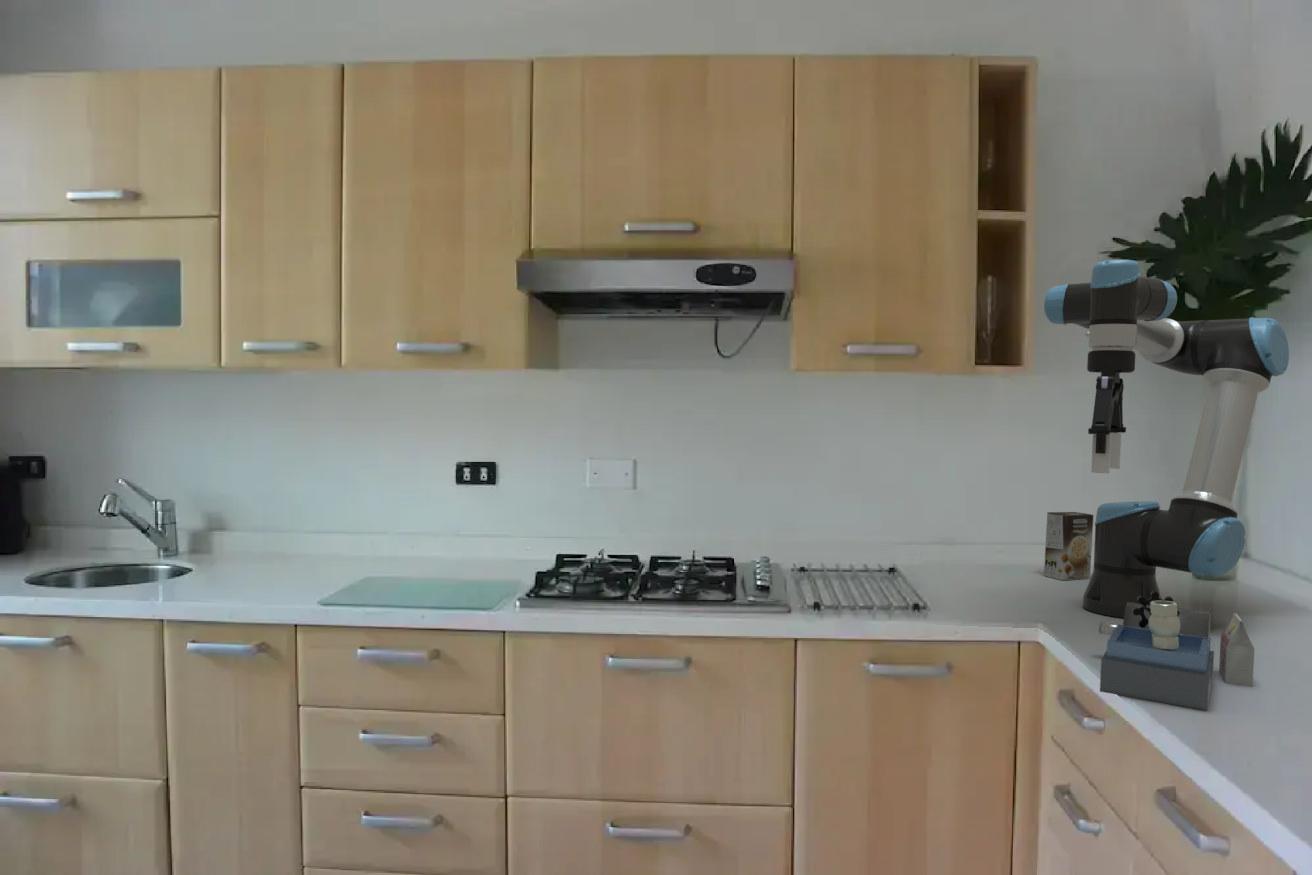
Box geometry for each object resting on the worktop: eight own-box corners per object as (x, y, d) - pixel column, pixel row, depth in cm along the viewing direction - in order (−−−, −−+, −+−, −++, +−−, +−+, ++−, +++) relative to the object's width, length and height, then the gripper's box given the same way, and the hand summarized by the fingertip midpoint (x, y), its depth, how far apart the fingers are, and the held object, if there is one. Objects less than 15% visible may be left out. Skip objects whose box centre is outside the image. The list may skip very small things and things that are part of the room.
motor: (1102, 649, 163) (1105, 593, 163) (1214, 667, 154) (1218, 608, 153) (1078, 687, 141) (1081, 623, 141) (1207, 710, 132) (1210, 641, 132)
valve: (1192, 651, 135) (1179, 632, 146) (1191, 605, 135) (1177, 591, 146) (1142, 648, 137) (1132, 631, 148) (1140, 604, 137) (1131, 590, 148)
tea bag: (1245, 674, 150) (1248, 614, 150) (1252, 686, 144) (1255, 623, 144) (1219, 671, 152) (1222, 611, 151) (1224, 682, 146) (1228, 620, 145)
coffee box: (1063, 581, 224) (1066, 515, 224) (1043, 576, 230) (1045, 512, 230) (1091, 578, 228) (1094, 514, 227) (1070, 573, 234) (1073, 511, 233)
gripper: (1098, 353, 174) (1093, 465, 175) (1076, 346, 153) (1070, 473, 155) (1143, 353, 170) (1137, 467, 171) (1126, 346, 149) (1120, 476, 150)
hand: (1105, 470), depth 163 cm, fingers open, 13 cm apart
